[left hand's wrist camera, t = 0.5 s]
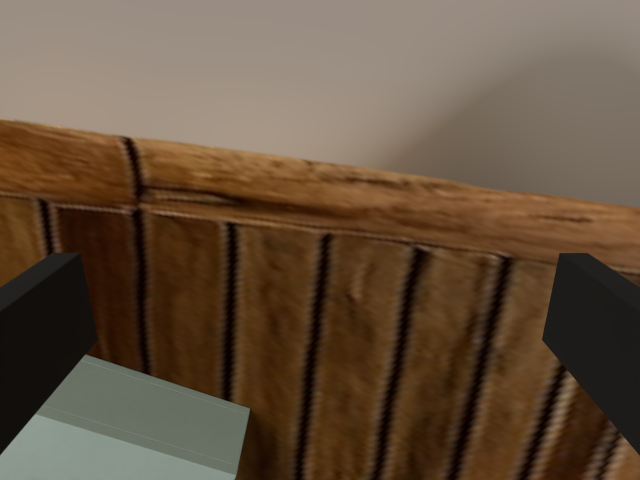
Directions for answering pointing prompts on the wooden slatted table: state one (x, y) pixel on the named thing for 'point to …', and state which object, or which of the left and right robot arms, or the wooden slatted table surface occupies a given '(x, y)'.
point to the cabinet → (127, 431)
